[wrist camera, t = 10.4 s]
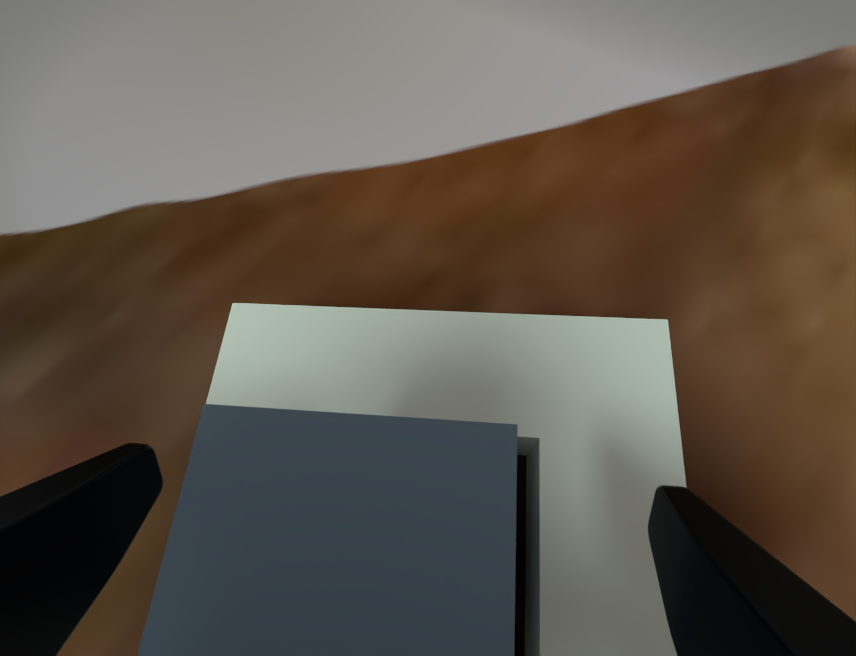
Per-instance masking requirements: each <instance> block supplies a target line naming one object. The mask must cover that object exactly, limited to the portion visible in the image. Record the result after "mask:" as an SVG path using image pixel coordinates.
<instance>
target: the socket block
mask: <svg viewBox="0 0 856 656" xmlns="http://www.w3.org/2000/svg"><path fill="white" fill-rule="evenodd" d="M206 404H215V405H230V406H245V407H260V408H276V409H291V410H306V411H321V412H336V413H352V414H367V415H382V416H397V417H412V418H428V419H443V420H458V421H473V422H489V423H504V424H518V426H517V455H524V456H526V542H525V656H677V653H676V650H675V647H674V644H673V640H672V637H671V634H670V630H669V626H668V622H667V618H666V613H665V609H664V604H663V600H662V595H661V591H660V586H659V582H658V577H657V573H656V569H655V564H654V560H653V555H652V551H651V546H650V542H649V537H648V521H649V516H650V512H651V508H652V503H653V499H654V494H655V491H656V489H657V487H658V486H660V485H671V486H682V487H685V488H687V487H686V478H685V469H684V461H683V452H682V443H681V434H680V425H679V416H678V407H677V398H676V389H675V381H674V372H673V363H672V354H671V345H670V336H669V327H668V320H663V319H637V318H610V317H584V316H558V315H532V314H506V313H480V312H454V311H428V310H401V309H375V308H349V307H323V306H297V305H271V304H245V303H233V304H232V307H231V311H230V315H229V319H228V323H227V326H226V330H225V334H224V338H223V341H222V345H221V349H220V353H219V356H218V360H217V364H216V368H215V371H214V375H213V379H212V383H211V386H210V390H209V394H208V398H207V401H206Z"/></svg>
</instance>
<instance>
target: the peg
mask: <svg viewBox="0 0 856 656" xmlns="http://www.w3.org/2000/svg"><path fill="white" fill-rule="evenodd" d="M517 426H518V424H504V423H489V422H473V421H458V420H443V419H428V418H412V417H397V416H382V415H367V414H352V413H336V412H321V411H306V410H291V409H276V408H260V407H245V406H230V405H215V404H204V405H203V409H202V413H201V416H200V420H199V424H198V428H197V432H196V435H195V439H194V443H193V447H192V450H191V454H190V458H189V462H188V465H187V469H186V473H185V477H184V480H183V484H182V488H181V492H180V496H179V499H178V503H177V507H176V511H175V514H174V518H173V522H172V526H171V529H170V533H169V537H168V541H167V545H166V548H165V552H164V556H163V560H162V563H161V567H160V571H159V575H158V578H157V582H156V586H155V590H154V593H153V597H152V601H151V605H150V609H149V612H148V616H147V620H146V624H145V627H144V631H143V635H142V639H141V642H140V646H139V650H138V654H137V656H514V645H515V572H516V499H517Z"/></svg>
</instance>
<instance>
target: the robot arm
mask: <svg viewBox="0 0 856 656" xmlns="http://www.w3.org/2000/svg"><path fill="white" fill-rule="evenodd" d="M162 486H163V477H162V474H161V470H160V467H159V463H158V460H157V456H156V453H155V450H154V448H153V447H152V446H151V445H148V444H139V443H127V444H124V445H122V446H120V447H117V448H115V449H112V450H110V451H108V452H105V453H103V454H101V455H98V456H96V457H93V458H91V459H89V460H86V461H84V462H82V463H79V464H77V465H74V466H72V467H70V468H67V469H65V470H63V471H60V472H58V473H55V474H53V475H51V476H48V477H46V478H44V479H41V480H39V481H36V482H34V483H32V484H29V485H27V486H25V487H22V488H20V489H17V490H15V491H13V492H10V493H8V494H6V495H3V496H1V497H0V656H57V654H58V653H59V651H60V650H61V649H62V647H63V646H64V644H65V643H66V641H67V640H68V638H69V637H70V636H71V634H72V633H73V631H74V630H75V628H76V627H77V625H78V624H79V623H80V621H81V620H82V618H83V617H84V615H85V614H86V612H87V611H88V610H89V608H90V607H91V605H92V604H93V602H94V601H95V600H96V598H97V597H98V595H99V594H100V592H101V591H102V589H103V588H104V587H105V585H106V584H107V582H108V581H109V579H110V578H111V576H112V575H113V573H114V572H115V570H116V569H117V567H118V565H119V564H120V562H121V560H122V559H123V557H124V555H125V553H126V552H127V550H128V548H129V547H130V545H131V543H132V541H133V540H134V538H135V536H136V534H137V533H138V531H139V529H140V527H141V526H142V524H143V522H144V520H145V519H146V517H147V515H148V513H149V512H150V510H151V508H152V506H153V505H154V503H155V501H156V499H157V498H158V496H159V494H160V492H161V490H162ZM648 537H649V542H650V546H651V551H652V555H653V560H654V564H655V569H656V573H657V577H658V582H659V586H660V591H661V595H662V600H663V604H664V609H665V613H666V618H667V622H668V626H669V630H670V634H671V637H672V640H673V644H674V647H675V650H676V653H677V656H856V622H855V621H854V620H853V619H852V618H850V617H849V616H848V615H847V614H845V613H844V612H843V611H842V610H840V609H839V608H838V607H836V606H835V605H834V604H833V603H831V602H830V601H829V600H828V599H826V598H825V597H824V596H823V595H821V594H820V593H819V592H818V591H816V590H815V589H814V588H813V587H811V586H810V585H809V584H807V583H806V582H805V581H804V580H802V579H801V578H800V577H799V576H797V575H796V574H795V573H794V572H792V571H791V570H790V569H789V568H787V567H786V566H785V565H784V564H782V563H781V562H780V561H779V560H777V559H776V558H775V557H773V556H772V555H771V554H770V553H768V552H767V551H766V550H765V549H763V548H762V547H761V546H760V545H758V544H757V543H756V542H755V541H753V540H752V539H751V538H750V537H748V536H747V535H746V534H744V533H743V532H742V531H741V530H739V529H738V528H737V527H736V526H734V525H733V524H732V523H731V522H729V521H728V520H727V519H726V518H724V517H723V516H722V515H721V514H719V513H718V512H717V511H715V510H714V509H713V508H712V507H710V506H709V505H708V504H707V503H705V502H704V501H703V500H702V499H700V498H699V497H698V496H697V495H695V494H694V493H693V492H692V491H690V490H689V489H687V488H685V487H682V486H671V485H660V486H658V487H657V489H656V491H655V494H654V499H653V503H652V508H651V512H650V516H649V521H648Z"/></svg>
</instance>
